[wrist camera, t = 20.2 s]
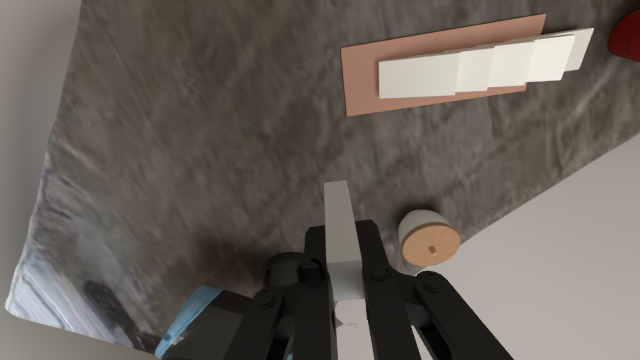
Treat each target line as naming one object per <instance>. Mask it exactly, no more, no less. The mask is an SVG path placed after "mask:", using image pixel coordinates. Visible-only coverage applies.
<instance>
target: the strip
mask: <svg viewBox="0 0 640 360" xmlns="http://www.w3.org/2000/svg"><path fill="white" fill-rule="evenodd" d="M545 17H546V14H540V15H534V16H528V17H522V18H516V19H510V20H505V21H499V22H493V23H487V24H481V25H475V26H469V27H463V28H457V29H451V30H445V31H439V32H433V33H427V34H421V35H416V36H410V37H404V38H398V39H392V40H386V41H380V42H374V43H368V44H362V45H356V46H350V47H344V48H341V58H342V69H343V80H344V91H345V102H346V113H347V116H354V115H361V114H368V113H375V112H382V111H388V110H395V109H402V108H409V107H416V106H423V105H429V104H436V103H443V102H450V101H457V100H464V99H470V98H477V97H484V96H491V95H498V94H505V93H511V92H518V91H525V89H526V86H527V82H525V85H522V86H503V87H488V88H487V91H472V92H455V95H449V96H427V97H404V98H382V99H379V62H380V61H382V60H389V59H398V58H406V57H410V56H416V55H424V54H433V53H441V52H443V51H446V50H454V49H462V48H471V47H475V46H476V45H484V44H492V43H501V42H505V41H507V40H513V39H519V38H525V37H531V36H537V35H541V32H542V28H543V24H544V21H545Z"/></svg>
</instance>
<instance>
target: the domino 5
mask: <svg viewBox="0 0 640 360" xmlns="http://www.w3.org/2000/svg"><path fill="white" fill-rule="evenodd" d="M593 30H594V28H582V29H574V30H568V31H562V32H556V33H550V34H544V35H537V36H531V37H525V38H519V39H513V40H507V41H505V42H509V41H517V40H526V39H534V38H542V37H550V36H559V35H567V34H573V35H576V37H575V40H574V43H573V46H572V49H571V52H570V55H569V57H568V60H567V63H566V66H565V69H564V71H570V70H577V69H579V68H580V65H581V63H582V60H583V57H584V54H585V52H586V49H587V46H588V44H589V41H590V38H591V36H592V33H593Z"/></svg>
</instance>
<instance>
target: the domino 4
mask: <svg viewBox="0 0 640 360" xmlns="http://www.w3.org/2000/svg"><path fill="white" fill-rule="evenodd" d="M575 37H576V35H573V34H567V35H559V36H550V37H542V38H534V39H526V40H517V41H509V42H501V43H492V44H484V45H476V46H475V47H479V46H488V45H496V44H505V43H513V42H521V41H530V40H534V41H536V45H535V48H534V52H533V56H532V59H531V63H530V67H529V70H528V74H527V78H526V81H525V82H534V81H552V80H561V78H562V75H563V72H564V69H565V66H566V63H567V60H568V57H569V55H570V52H571V49H572V46H573V43H574V40H575Z"/></svg>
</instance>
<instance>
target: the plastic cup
mask: <svg viewBox="0 0 640 360" xmlns="http://www.w3.org/2000/svg"><path fill="white" fill-rule="evenodd" d="M608 46H609V50H610V51H611V52H612V53H613V54H614V55H616V56H619V57H623V58H628V59H632V60H634V61H636V62H640V9H639V10H637V11H634V12H632V13H631V14H629V15H628V16H626V17H625V18H624V19H623V20H622V21H621V22H620V23H618V24H617V25H616V27H615V29H614V30H613V32H612V33H611V35H610V39H609V42H608Z"/></svg>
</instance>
